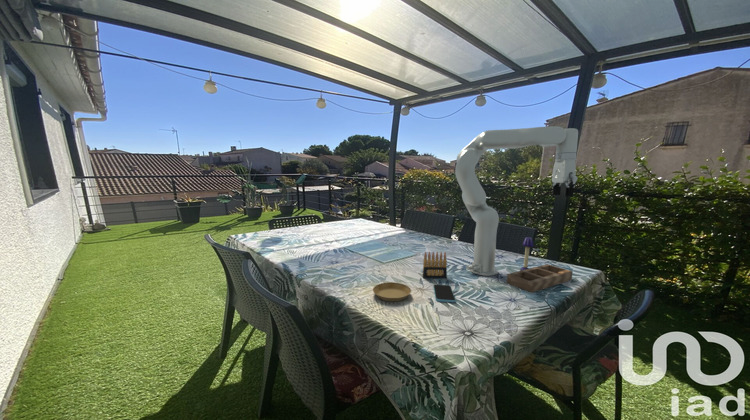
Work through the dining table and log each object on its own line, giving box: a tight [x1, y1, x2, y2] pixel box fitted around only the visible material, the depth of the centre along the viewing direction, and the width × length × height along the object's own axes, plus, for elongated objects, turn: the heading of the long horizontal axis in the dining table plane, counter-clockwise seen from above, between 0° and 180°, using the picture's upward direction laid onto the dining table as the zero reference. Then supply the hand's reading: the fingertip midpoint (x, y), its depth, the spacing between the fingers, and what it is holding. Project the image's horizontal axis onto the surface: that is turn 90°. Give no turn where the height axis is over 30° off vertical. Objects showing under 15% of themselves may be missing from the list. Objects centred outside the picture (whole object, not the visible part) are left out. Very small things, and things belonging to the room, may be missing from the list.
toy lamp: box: [519, 236, 534, 271], centre depth 131 cm, size 5×5×17 cm
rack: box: [506, 263, 573, 293], centre depth 119 cm, size 29×11×4 cm, turn 118°
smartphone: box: [432, 284, 457, 303], centre depth 107 cm, size 7×1×15 cm
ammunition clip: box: [422, 251, 448, 279], centre depth 123 cm, size 11×2×12 cm, turn 88°
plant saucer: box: [372, 281, 412, 303], centre depth 105 cm, size 15×15×3 cm
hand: (562, 195), depth 123 cm, fingers open, 9 cm apart
